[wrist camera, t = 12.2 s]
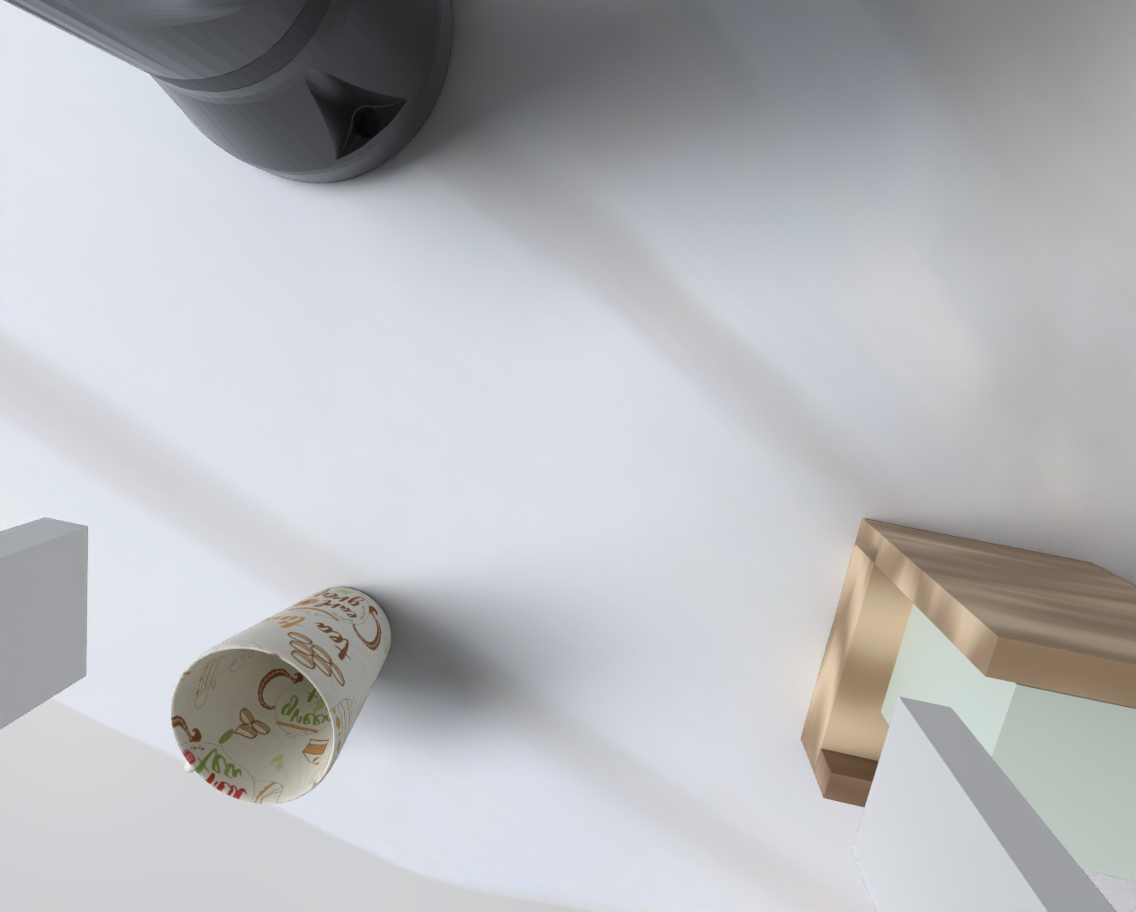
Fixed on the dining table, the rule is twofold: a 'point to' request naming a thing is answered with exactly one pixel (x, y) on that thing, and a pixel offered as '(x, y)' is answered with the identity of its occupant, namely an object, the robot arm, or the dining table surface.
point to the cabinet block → (1037, 745)
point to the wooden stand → (960, 635)
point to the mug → (281, 696)
